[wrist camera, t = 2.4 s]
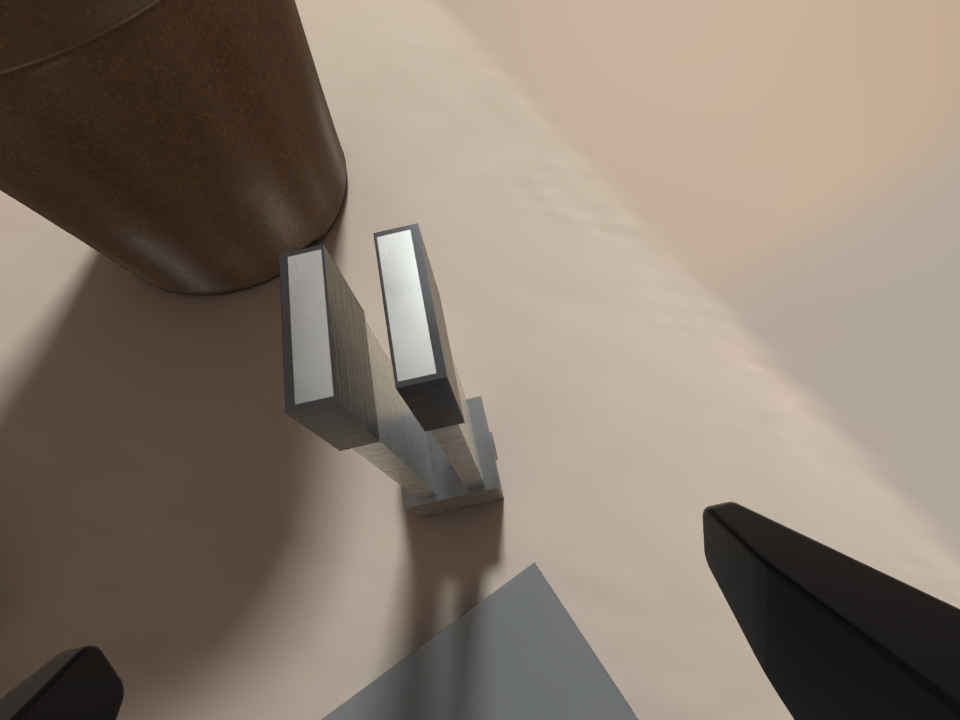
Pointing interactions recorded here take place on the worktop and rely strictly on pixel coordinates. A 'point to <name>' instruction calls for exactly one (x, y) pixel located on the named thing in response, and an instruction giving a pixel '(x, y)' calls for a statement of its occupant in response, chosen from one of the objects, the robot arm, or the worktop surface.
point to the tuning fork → (385, 376)
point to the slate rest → (498, 667)
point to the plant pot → (170, 134)
